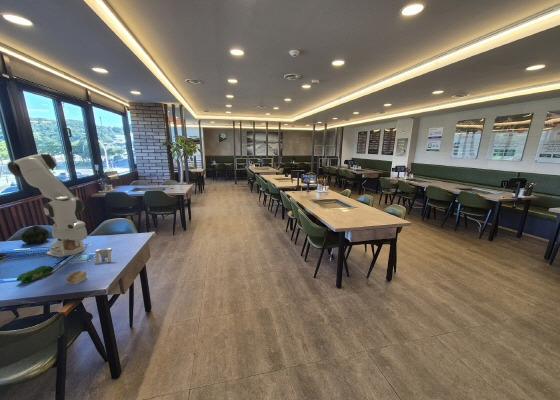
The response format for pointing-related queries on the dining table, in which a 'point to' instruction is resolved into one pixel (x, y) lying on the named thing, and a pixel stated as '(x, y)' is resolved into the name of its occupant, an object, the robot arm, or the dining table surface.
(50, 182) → the robot arm
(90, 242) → the dining table surface
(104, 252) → the portable electronic device stand
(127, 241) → the dining table surface
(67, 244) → the walnut cube
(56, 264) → the dining table surface
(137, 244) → the dining table surface
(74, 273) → the oak base block
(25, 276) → the snack package
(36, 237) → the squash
